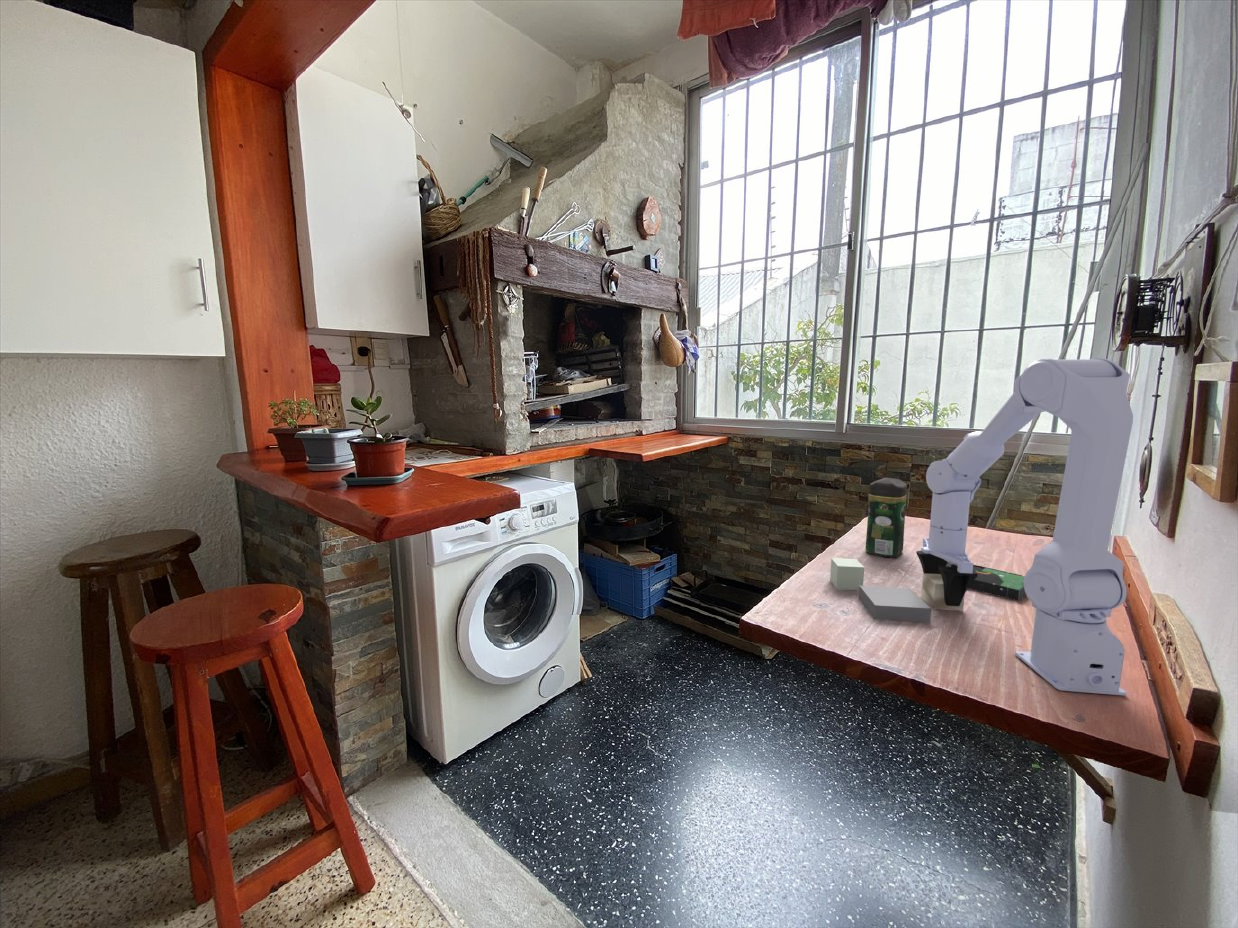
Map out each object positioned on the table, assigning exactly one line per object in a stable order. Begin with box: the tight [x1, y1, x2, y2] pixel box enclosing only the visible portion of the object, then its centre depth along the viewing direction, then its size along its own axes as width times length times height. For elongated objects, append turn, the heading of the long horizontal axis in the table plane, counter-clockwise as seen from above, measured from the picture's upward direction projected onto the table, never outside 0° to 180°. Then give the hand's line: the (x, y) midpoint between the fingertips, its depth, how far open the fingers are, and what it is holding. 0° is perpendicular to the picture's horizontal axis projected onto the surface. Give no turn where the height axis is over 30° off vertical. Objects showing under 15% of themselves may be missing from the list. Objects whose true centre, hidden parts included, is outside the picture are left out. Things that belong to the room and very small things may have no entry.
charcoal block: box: [858, 585, 932, 623], centre depth 89 cm, size 9×9×3 cm
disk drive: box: [946, 562, 1027, 602], centre depth 101 cm, size 10×3×15 cm
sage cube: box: [829, 557, 865, 592], centre depth 101 cm, size 5×5×5 cm
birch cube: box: [920, 572, 966, 611], centre depth 91 cm, size 5×5×5 cm
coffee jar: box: [865, 477, 908, 558], centre depth 120 cm, size 10×8×19 cm
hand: (942, 596), depth 92 cm, fingers open, 7 cm apart
